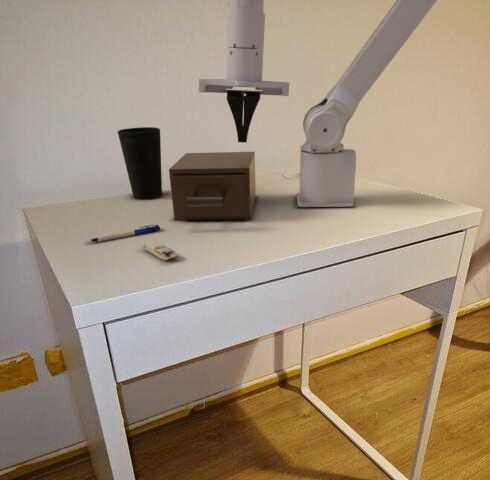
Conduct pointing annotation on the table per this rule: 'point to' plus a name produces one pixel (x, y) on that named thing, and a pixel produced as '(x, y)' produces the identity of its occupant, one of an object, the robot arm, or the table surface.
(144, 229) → the ballpoint pen
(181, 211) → the drawer
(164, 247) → the granola bar
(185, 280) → the table surface
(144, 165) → the cup
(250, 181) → the cabinet
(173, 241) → the table surface
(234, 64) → the robot arm
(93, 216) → the table surface
